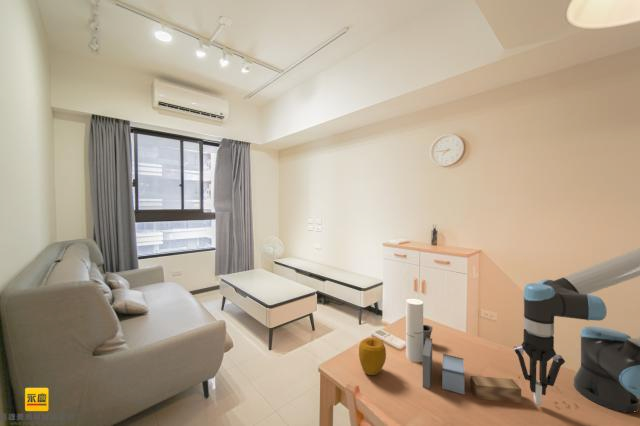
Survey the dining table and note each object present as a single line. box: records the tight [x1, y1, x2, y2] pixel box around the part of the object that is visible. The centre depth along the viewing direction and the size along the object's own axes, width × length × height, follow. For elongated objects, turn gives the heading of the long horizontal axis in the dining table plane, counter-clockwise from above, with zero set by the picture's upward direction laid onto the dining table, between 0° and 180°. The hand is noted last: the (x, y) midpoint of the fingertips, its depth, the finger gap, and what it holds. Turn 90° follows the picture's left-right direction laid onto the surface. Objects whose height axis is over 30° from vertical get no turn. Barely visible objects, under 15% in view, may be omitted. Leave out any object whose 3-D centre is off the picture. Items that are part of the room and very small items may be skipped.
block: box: [441, 353, 465, 395], centre depth 94 cm, size 7×10×8 cm
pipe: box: [423, 324, 434, 346], centre depth 122 cm, size 6×13×8 cm, turn 107°
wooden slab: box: [469, 375, 522, 404], centre depth 88 cm, size 14×5×5 cm, turn 81°
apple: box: [358, 337, 387, 376], centre depth 102 cm, size 11×11×13 cm
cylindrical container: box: [405, 298, 424, 363], centre depth 111 cm, size 7×7×25 cm
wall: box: [422, 337, 433, 390], centre depth 98 cm, size 2×14×12 cm, turn 152°
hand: (537, 402), depth 83 cm, fingers closed
